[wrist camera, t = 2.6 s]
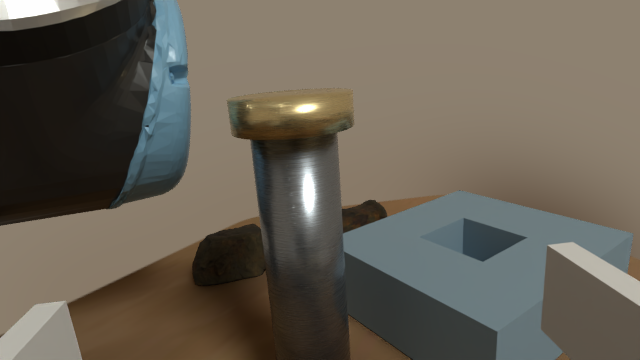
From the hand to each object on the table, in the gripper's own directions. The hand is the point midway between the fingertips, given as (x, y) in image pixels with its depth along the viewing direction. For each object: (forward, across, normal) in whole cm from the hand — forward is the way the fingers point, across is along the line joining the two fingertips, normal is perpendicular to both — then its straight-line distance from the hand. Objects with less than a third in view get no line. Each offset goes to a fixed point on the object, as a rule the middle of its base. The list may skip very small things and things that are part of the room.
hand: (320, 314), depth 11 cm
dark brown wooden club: (+26, 0, -11) cm, 28 cm away
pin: (+9, 0, -11) cm, 14 cm away
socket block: (+16, +12, -11) cm, 23 cm away
